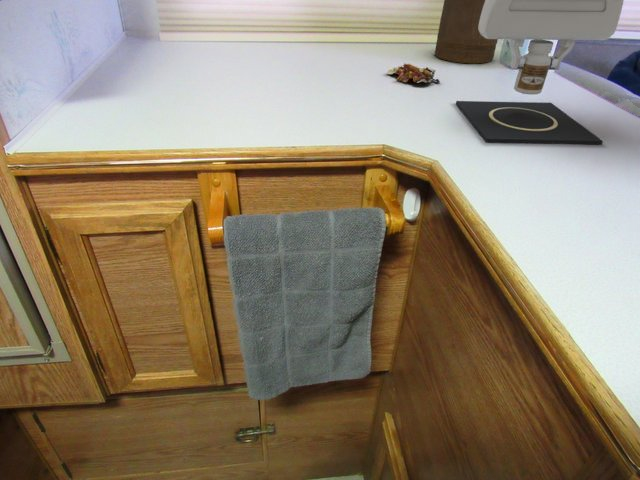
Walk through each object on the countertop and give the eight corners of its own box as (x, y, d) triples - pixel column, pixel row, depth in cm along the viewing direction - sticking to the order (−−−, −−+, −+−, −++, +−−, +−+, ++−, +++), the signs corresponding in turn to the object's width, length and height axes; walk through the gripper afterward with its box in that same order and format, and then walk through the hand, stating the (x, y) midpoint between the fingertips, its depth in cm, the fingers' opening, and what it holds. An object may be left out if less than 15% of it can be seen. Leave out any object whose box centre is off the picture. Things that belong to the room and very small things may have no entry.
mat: (550, 105, 80) (551, 101, 80) (601, 144, 65) (603, 139, 65) (455, 104, 80) (456, 99, 79) (486, 142, 65) (487, 137, 65)
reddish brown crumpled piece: (398, 70, 98) (400, 54, 96) (441, 82, 91) (444, 65, 89) (377, 76, 94) (379, 58, 92) (421, 88, 87) (424, 70, 85)
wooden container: (504, 62, 106) (532, -43, 93) (450, 65, 103) (471, -43, 90) (474, 49, 118) (494, -46, 105) (424, 51, 115) (440, -47, 102)
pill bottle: (516, 94, 70) (530, 43, 65) (510, 86, 73) (524, 38, 69) (544, 96, 69) (560, 45, 65) (537, 88, 73) (552, 39, 68)
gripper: (622, -32, 64) (587, 64, 72) (487, -34, 63) (467, 63, 72) (648, -29, 59) (607, 74, 67) (501, -31, 58) (478, 73, 67)
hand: (533, 68), depth 69 cm, fingers closed on pill bottle, 4 cm apart
